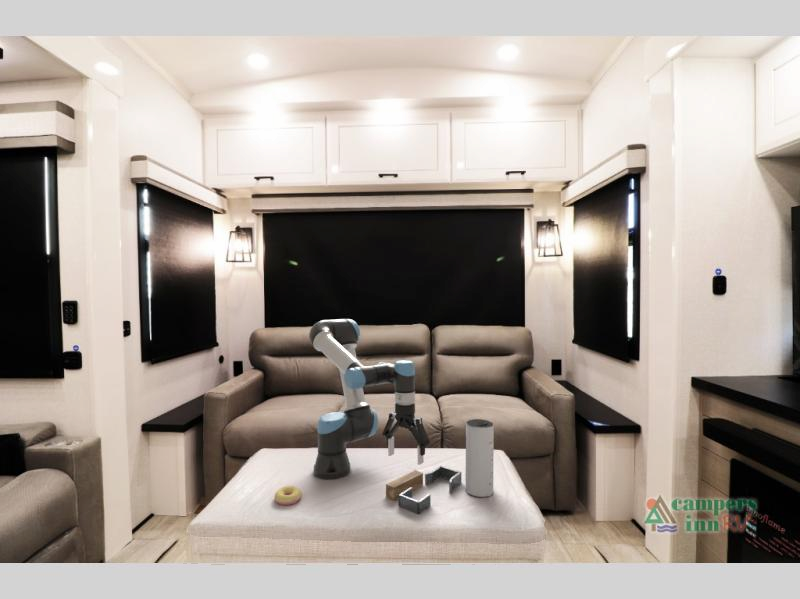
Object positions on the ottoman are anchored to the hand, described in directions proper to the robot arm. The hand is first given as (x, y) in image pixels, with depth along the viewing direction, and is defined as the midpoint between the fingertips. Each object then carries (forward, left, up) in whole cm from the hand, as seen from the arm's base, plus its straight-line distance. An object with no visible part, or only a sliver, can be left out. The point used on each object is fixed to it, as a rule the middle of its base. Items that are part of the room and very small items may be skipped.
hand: (405, 459), depth 152 cm
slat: (0, 0, -12) cm, 12 cm away
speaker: (+22, +17, -12) cm, 30 cm away
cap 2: (+9, +14, -12) cm, 20 cm away
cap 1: (+9, -6, -12) cm, 16 cm away
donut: (-31, -30, -13) cm, 45 cm away
